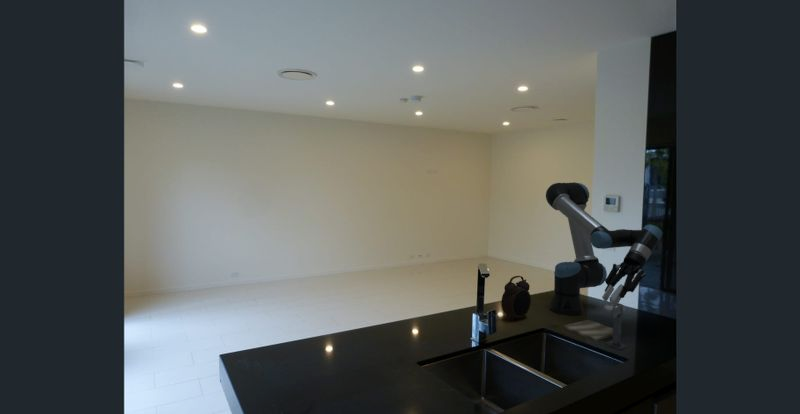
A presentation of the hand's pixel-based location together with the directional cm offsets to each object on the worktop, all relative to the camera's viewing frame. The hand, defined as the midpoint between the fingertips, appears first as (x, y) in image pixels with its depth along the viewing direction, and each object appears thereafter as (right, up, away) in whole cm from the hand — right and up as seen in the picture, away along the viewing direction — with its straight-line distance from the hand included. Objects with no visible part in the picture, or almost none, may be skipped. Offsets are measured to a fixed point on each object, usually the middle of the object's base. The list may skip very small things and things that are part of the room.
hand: (609, 301), depth 164 cm
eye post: (-1, -16, -7) cm, 17 cm away
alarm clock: (-31, -14, +24) cm, 42 cm away
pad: (-3, -15, +9) cm, 18 cm away
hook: (+3, -4, +2) cm, 5 cm away
